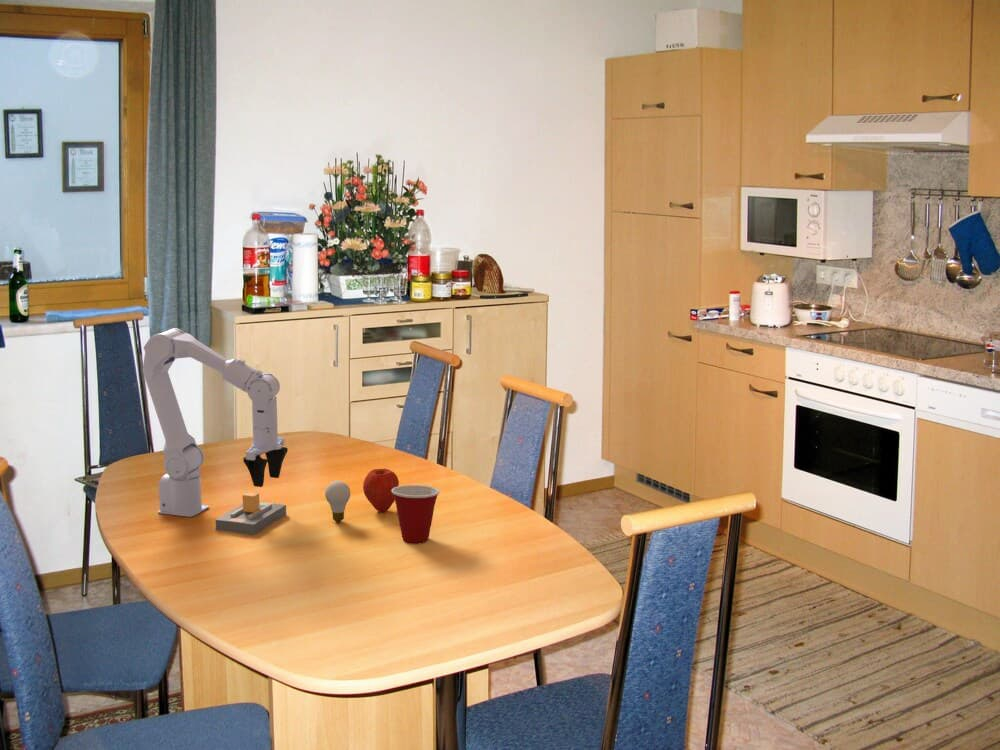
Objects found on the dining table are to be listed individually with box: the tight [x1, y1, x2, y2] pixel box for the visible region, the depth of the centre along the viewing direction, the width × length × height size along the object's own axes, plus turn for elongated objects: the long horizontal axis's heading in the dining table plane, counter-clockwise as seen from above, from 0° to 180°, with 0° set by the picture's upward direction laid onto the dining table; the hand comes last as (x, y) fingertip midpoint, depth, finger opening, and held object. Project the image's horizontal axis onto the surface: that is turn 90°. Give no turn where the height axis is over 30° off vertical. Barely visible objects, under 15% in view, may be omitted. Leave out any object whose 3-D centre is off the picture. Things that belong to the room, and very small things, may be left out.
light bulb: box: [324, 480, 351, 523], centre depth 262 cm, size 6×6×10 cm
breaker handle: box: [242, 491, 260, 513], centre depth 261 cm, size 3×2×4 cm
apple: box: [362, 468, 400, 513], centre depth 270 cm, size 9×8×11 cm
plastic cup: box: [391, 484, 441, 545], centre depth 251 cm, size 11×11×12 cm
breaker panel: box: [215, 501, 287, 536], centre depth 262 cm, size 10×15×3 cm, turn 162°
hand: (266, 481), depth 265 cm, fingers open, 7 cm apart
